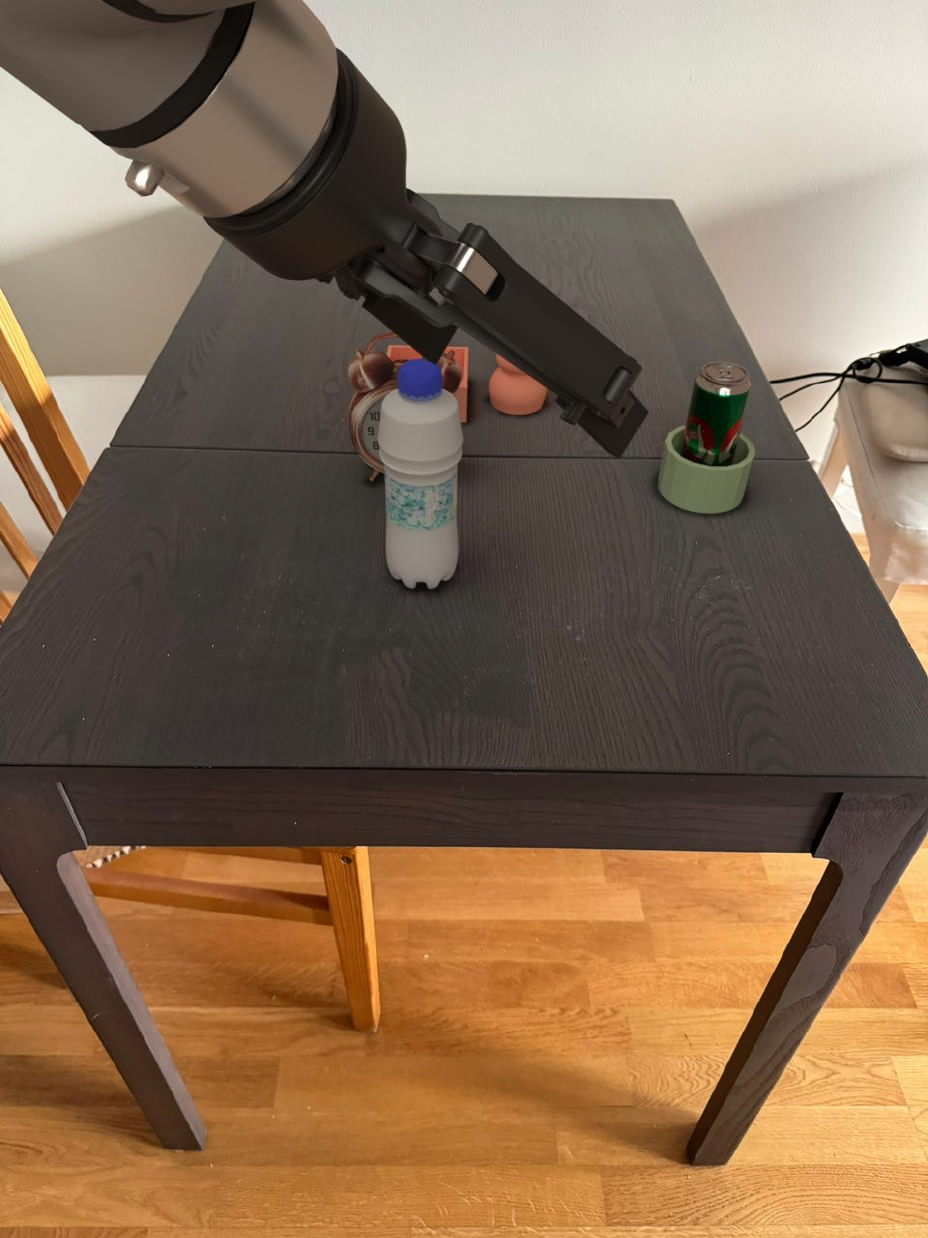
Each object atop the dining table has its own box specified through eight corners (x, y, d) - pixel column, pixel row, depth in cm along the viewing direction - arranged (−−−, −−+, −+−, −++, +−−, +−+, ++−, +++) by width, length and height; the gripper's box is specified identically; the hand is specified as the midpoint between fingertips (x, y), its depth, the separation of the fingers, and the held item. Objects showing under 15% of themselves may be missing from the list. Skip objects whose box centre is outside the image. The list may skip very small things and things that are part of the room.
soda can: (721, 470, 94) (747, 359, 86) (731, 498, 90) (759, 386, 82) (671, 468, 94) (692, 358, 86) (679, 497, 90) (702, 384, 82)
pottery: (383, 420, 101) (379, 334, 95) (389, 379, 108) (386, 296, 102) (548, 424, 101) (555, 339, 95) (543, 382, 108) (550, 300, 102)
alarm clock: (352, 487, 91) (341, 344, 81) (353, 460, 95) (342, 320, 85) (462, 484, 92) (464, 342, 82) (458, 458, 96) (461, 319, 86)
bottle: (472, 587, 80) (478, 375, 67) (398, 605, 78) (390, 390, 65) (444, 543, 85) (445, 336, 72) (374, 558, 83) (362, 349, 70)
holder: (749, 477, 94) (761, 433, 91) (735, 522, 88) (747, 477, 85) (668, 459, 96) (676, 416, 93) (649, 501, 91) (656, 457, 87)
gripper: (47, 146, 39) (349, 365, 57) (451, 343, 26) (679, 547, 44) (133, -17, 38) (412, 256, 56) (594, 101, 25) (767, 409, 43)
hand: (529, 384), depth 50 cm, fingers open, 13 cm apart
